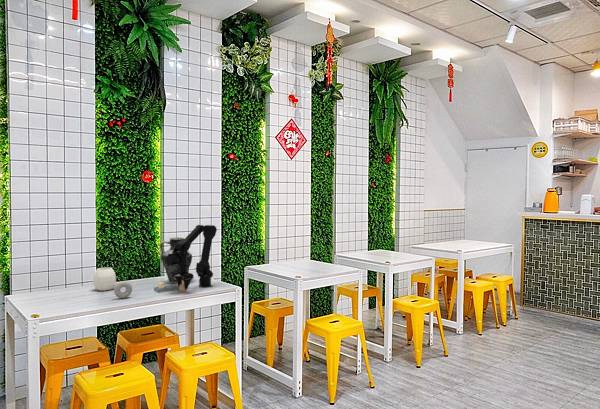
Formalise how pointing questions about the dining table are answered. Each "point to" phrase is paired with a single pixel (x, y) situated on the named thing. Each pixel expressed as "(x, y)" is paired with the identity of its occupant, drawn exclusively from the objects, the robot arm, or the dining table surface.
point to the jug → (164, 254)
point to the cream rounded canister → (104, 279)
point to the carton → (166, 287)
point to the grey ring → (120, 285)
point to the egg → (182, 288)
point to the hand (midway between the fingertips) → (182, 288)
